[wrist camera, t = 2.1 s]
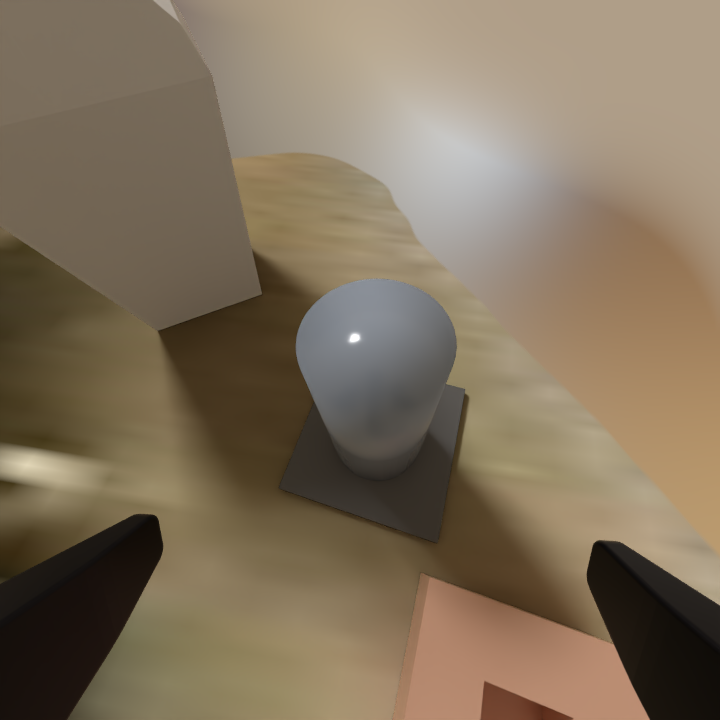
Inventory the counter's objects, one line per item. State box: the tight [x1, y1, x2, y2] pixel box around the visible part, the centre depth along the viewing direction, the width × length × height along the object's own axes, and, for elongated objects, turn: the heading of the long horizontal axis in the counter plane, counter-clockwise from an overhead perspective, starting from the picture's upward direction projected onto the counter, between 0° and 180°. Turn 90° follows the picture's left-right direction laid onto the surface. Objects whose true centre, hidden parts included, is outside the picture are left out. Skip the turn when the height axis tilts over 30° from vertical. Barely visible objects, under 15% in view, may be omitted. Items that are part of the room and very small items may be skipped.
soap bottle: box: [0, 0, 262, 331], centre depth 17 cm, size 12×10×26 cm
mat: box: [279, 384, 465, 543], centre depth 20 cm, size 9×9×1 cm
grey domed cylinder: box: [296, 279, 457, 481], centre depth 15 cm, size 5×5×10 cm
